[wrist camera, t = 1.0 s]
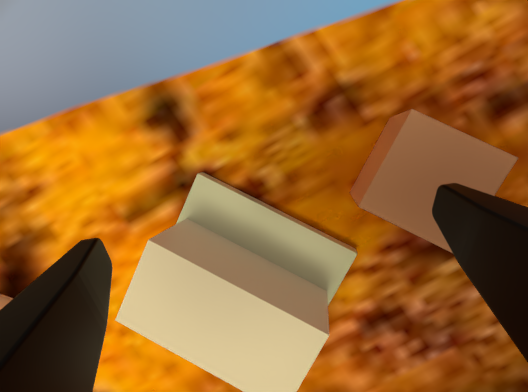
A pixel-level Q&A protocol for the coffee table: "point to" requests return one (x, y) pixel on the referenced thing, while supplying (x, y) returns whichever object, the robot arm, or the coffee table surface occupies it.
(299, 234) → the baseplate
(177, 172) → the coffee table surface
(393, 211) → the top brick
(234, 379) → the bottom brick
